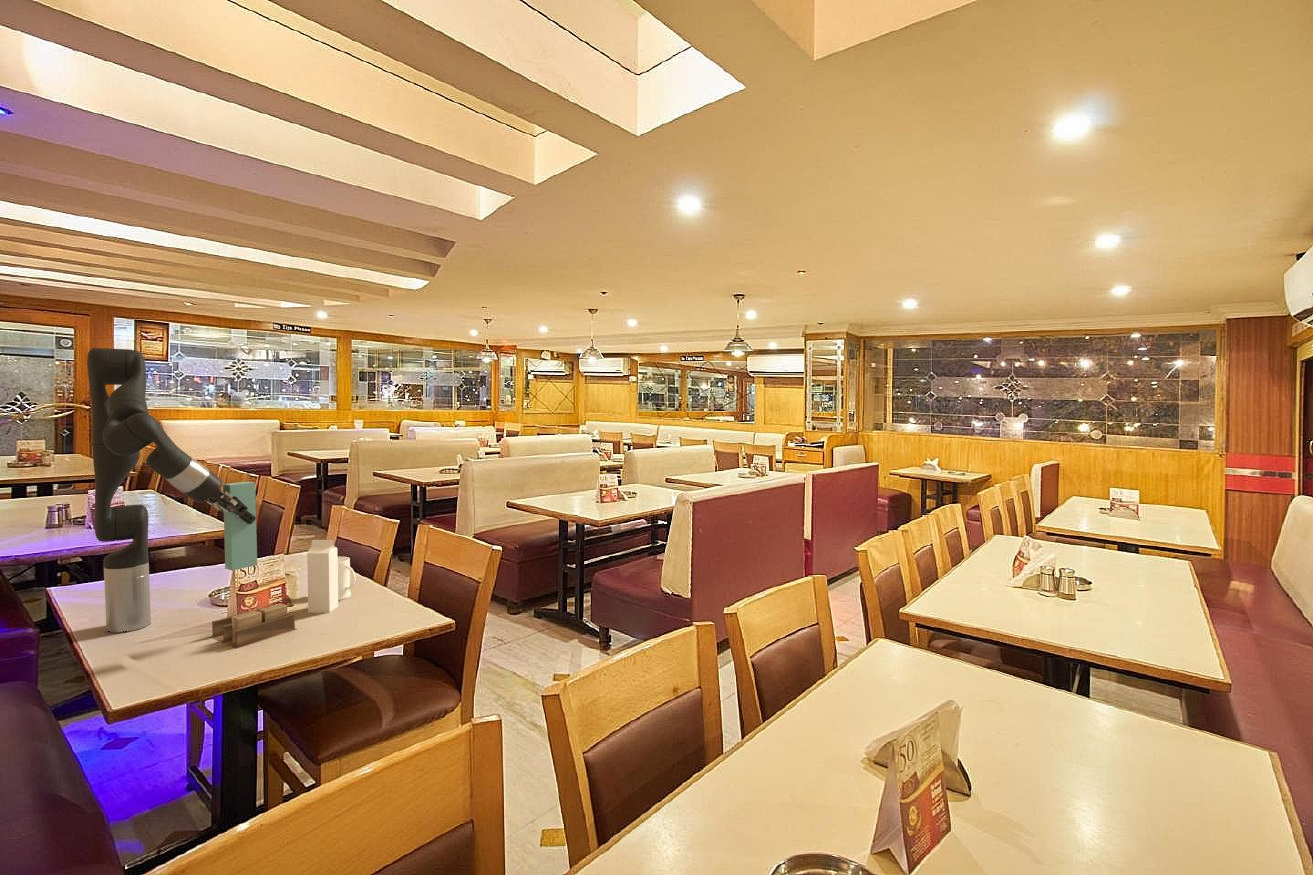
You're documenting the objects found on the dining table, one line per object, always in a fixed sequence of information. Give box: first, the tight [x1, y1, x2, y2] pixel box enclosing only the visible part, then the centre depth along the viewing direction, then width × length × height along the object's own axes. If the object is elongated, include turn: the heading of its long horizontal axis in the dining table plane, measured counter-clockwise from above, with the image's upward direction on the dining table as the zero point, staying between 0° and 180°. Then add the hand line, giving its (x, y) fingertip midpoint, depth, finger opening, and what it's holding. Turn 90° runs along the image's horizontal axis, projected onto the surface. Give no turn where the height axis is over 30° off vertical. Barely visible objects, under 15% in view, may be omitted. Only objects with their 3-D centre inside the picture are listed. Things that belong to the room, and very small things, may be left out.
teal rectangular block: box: [222, 481, 258, 571], centre depth 159 cm, size 4×6×22 cm, turn 150°
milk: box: [306, 539, 339, 614], centre depth 179 cm, size 6×6×22 cm
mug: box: [338, 556, 357, 602], centre depth 193 cm, size 12×8×12 cm
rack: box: [210, 605, 298, 650], centre depth 161 cm, size 13×15×6 cm
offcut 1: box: [232, 609, 262, 643], centre depth 156 cm, size 3×6×6 cm, turn 150°
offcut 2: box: [258, 603, 288, 623], centre depth 162 cm, size 3×6×6 cm, turn 150°
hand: (248, 520), depth 161 cm, fingers closed on teal rectangular block, 3 cm apart
